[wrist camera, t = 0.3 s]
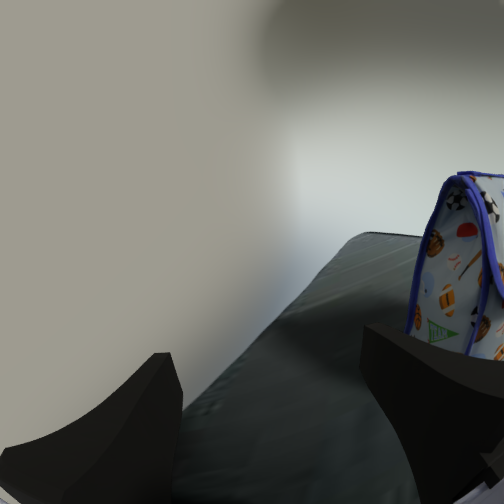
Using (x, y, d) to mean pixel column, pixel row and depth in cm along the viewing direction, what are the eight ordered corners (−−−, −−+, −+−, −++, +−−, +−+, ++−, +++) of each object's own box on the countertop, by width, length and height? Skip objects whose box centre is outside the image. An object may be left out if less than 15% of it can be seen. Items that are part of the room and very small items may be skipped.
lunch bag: (445, 430, 20) (522, 178, 11) (388, 353, 35) (407, 163, 27) (535, 364, 21) (579, 191, 13) (480, 319, 37) (502, 173, 28)
